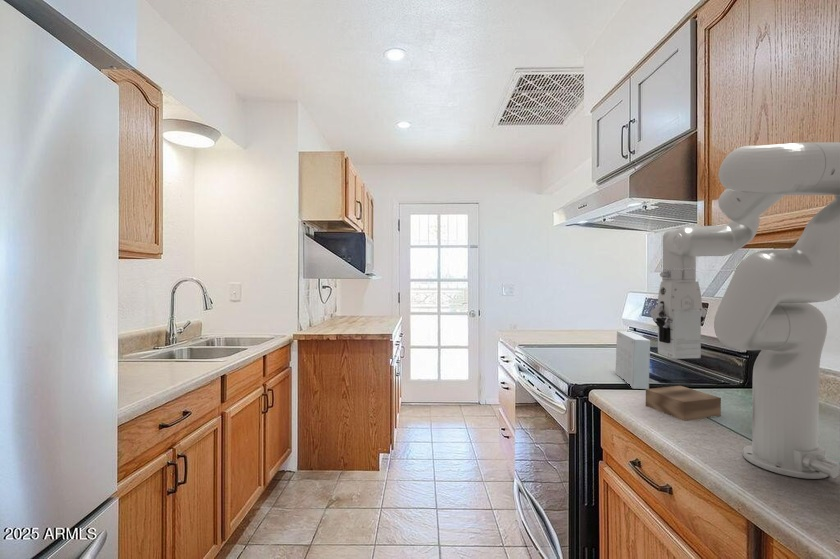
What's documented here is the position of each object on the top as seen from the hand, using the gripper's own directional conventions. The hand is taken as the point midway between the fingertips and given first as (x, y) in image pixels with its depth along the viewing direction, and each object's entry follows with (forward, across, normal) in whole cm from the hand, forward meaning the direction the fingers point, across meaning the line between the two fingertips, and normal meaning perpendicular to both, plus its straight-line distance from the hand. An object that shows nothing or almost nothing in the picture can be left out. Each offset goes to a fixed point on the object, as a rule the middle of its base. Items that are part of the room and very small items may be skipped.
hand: (678, 341), depth 111 cm
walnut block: (+19, 0, -1) cm, 19 cm away
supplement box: (+4, 0, 0) cm, 4 cm away
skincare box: (+19, +8, +29) cm, 35 cm away
